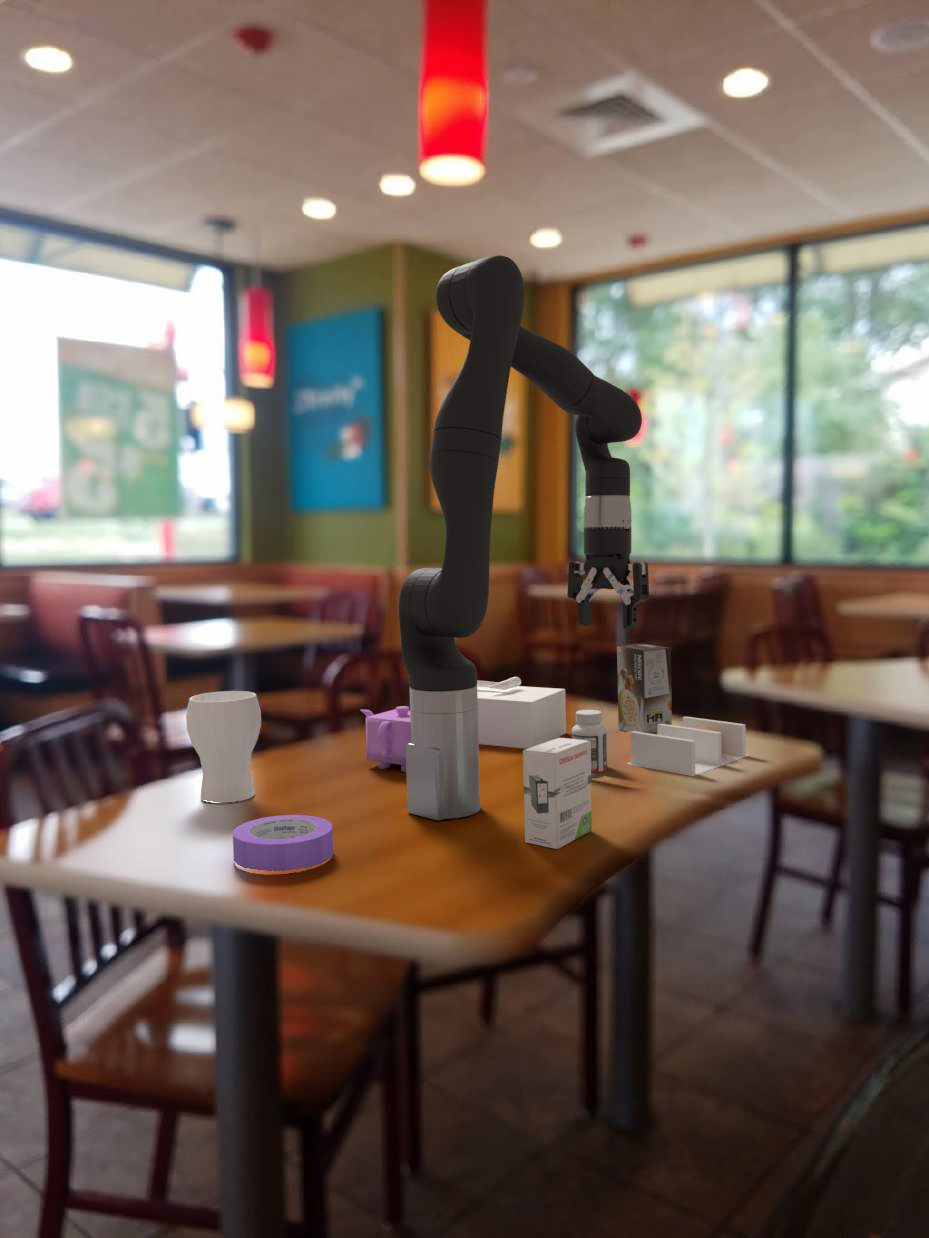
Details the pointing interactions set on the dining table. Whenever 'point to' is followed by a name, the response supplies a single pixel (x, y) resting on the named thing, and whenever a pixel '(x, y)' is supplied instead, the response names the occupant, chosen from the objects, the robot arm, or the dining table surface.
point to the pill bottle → (592, 737)
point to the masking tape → (283, 842)
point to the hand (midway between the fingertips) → (607, 627)
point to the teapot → (388, 736)
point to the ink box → (557, 792)
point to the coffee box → (644, 687)
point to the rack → (689, 746)
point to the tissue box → (519, 714)
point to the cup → (224, 742)
